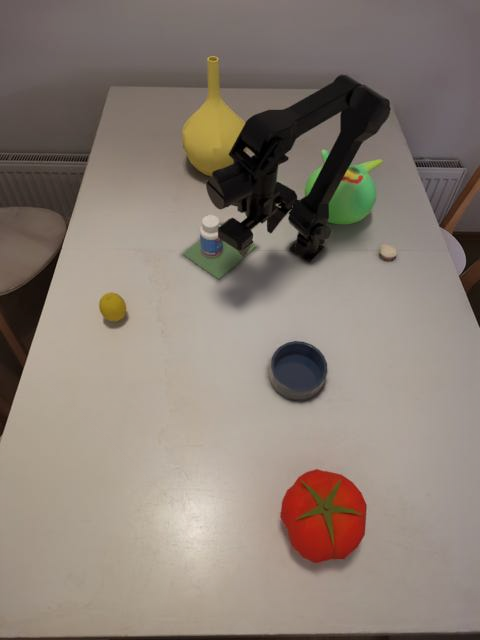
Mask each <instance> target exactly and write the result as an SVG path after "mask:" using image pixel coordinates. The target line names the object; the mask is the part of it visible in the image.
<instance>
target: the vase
mask: <svg viewBox="0 0 480 640" xmlns="http://www.w3.org/2000/svg"><path fill="white" fill-rule="evenodd" d="M206 59H207V60H206V61H207V65H206V66H207V96H206V99H205V102H204V103H202V105H201V106H200V107H199V108H198V109H197V110H196V111H195V112H194V113H193V114H192V115H191V116H189V117H188V119H187V120H186V121H185V122H184V124H183V126H182V133H181V138H182V139H181V142H182V148H183V150H184V152H185V154H186V156H187V159H188V160H189V162H190V164H191V165H192V166H193V167H194V168H195V169H196V170H197V171H198V172H200V173H201V174H203V175H205V176H208V177H212V173H213V171H215V170H218V169H222V168H225V167H227V166H229V165H232V164H234V160H233V159H232V158H231V157H230V156H229V152H230V151H231V149H232V147H233V145H234V143H235V141H236V140H237V138H238V136H239V134H240V132H241V130H242V129H243V127H244V125H245V123H246V121H245V120H244V119H243V118H241V116H239V115H238V114H237V113H236V112H234V111H233V110H232V109H231V108H230V107H229V106H228V105H227V104H226V103H225V101H224V100H223V98H222V96H221V85H220V84H221V83H220V65H219V64H220V62H219V57H218V56H215V55H213V56H212V55H211V56H208V57H207V58H206ZM243 151H244V152H246V153H247V151H248V148H247V147H246V148H245V149H244V150H243Z"/></svg>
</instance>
